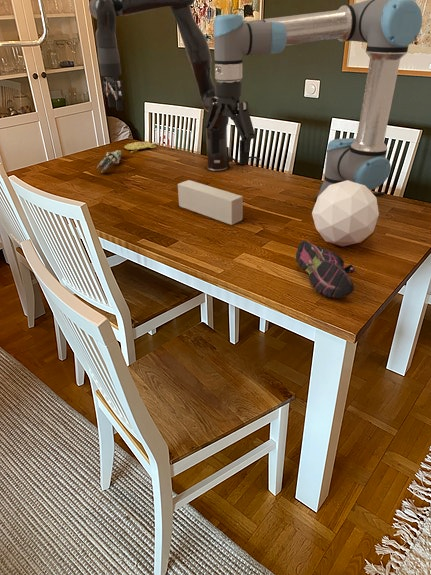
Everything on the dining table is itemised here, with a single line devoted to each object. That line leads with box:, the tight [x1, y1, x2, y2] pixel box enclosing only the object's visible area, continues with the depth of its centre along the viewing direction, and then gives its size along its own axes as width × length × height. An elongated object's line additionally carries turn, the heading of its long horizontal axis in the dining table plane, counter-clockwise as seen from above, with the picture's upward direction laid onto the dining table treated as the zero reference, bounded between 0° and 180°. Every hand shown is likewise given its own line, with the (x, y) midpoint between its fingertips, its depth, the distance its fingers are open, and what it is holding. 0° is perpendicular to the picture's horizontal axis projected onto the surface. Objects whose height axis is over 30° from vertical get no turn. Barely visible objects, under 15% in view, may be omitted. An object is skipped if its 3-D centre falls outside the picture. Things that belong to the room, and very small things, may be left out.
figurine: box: [96, 150, 123, 174], centre depth 213 cm, size 7×8×30 cm
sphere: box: [311, 180, 380, 248], centre depth 135 cm, size 19×20×20 cm
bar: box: [177, 179, 244, 226], centre depth 160 cm, size 27×6×9 cm, turn 47°
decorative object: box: [124, 141, 157, 154], centre depth 239 cm, size 21×2×20 cm
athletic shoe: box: [295, 240, 357, 299], centre depth 118 cm, size 11×22×12 cm
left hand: (116, 108), depth 170 cm, fingers open, 8 cm apart
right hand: (229, 158), depth 133 cm, fingers open, 13 cm apart
